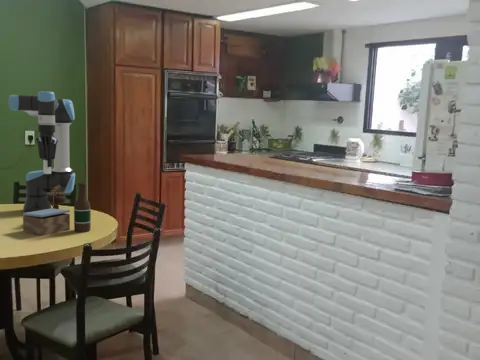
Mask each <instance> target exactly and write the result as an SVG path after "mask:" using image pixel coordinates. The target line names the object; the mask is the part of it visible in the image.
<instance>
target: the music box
mask: <svg viewBox="0 0 480 360" xmlns="http://www.w3.org/2000/svg"><path fill="white" fill-rule="evenodd" d="M60 188H61V186H60V185H56V187H53V188H52V190H51V191H52V192H55V193H48V196H47V200H48V201H49V202H50V204H51V208H52V209H60V206H59V204H64V203H65V202H66V201H67V197H66V195H64V194H62V193H60V192H58V191H60ZM56 192H58V193H56Z"/></svg>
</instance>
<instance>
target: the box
mask: <svg viewBox="0 0 480 360" xmlns="http://www.w3.org/2000/svg"><path fill="white" fill-rule="evenodd" d="M70 216H71V215H70V213H62V214H56V215H51V216H45V217H35V216H26V215H23V214H22V223H23V224H22V225H23V227H22V228H23V233H28V234H32V235H36V236H40V237H45V236H49V235H53V234H58V233H62V232H67V231H70V230H71V224H70V223H71V221H70V220H71V219H70Z"/></svg>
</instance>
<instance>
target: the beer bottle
mask: <svg viewBox="0 0 480 360" xmlns="http://www.w3.org/2000/svg"><path fill="white" fill-rule="evenodd" d="M77 186H78V195H77V200H76V201H75V203H74V209H73V213H74V214H73V224H74V225H73V228H74V229H73V231H74V232H76V233H87V232H90V231H91V228H92V227H91V223H92V221H91V220H92V219H91V215H92V214H91V209H92V208H91V203H90V201H89V200H88V198H87V188H86V186H87V183H86V182H83V181H81V182H78V184H77Z"/></svg>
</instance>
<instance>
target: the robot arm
mask: <svg viewBox="0 0 480 360" xmlns="http://www.w3.org/2000/svg"><path fill="white" fill-rule="evenodd" d="M8 108H9V110H11V111H22V112H25V113H26V114H27V115H28V116H31V117H34V118H37V120H38V121H37V122H38V125H37V130H38V133H39V137H37V138H36V139H35V140H36V142H37V147H38V148H37V149H38V156H39V158H40V159H41V160H42V169H40V170H33V171H29V172H27V173H26V174H25V192H26V195H25V196H26V198H25V200H24V204H23V208H22V209H23V213H27V212H33V211H39V210H45V209H51V208H52V206H51V204H52V203H51V202H49V201H48V200H47V196H48V195H49V194H54V193H55V192H52V191H51V190H52V188H53V187H56V185H60V186H61V188H60V191H58V192H60V194H62V193H63V194H68V193H70V194H71V193H72V192H73V191H74V188H75V181H76V173H75V172H73V168H71V167H70V166H71V163H70V159H71V158H70V156H71V155H70V126H71V125H72V124H73V121H75V109H74V103H73V101H72V100H71V99H69V98H68V99H67V98H66V99H64V98H56V95H55V92H54V91H48V90H47V91H43V90H41V91H38V92H37V95H28V94H10V95H9V96H8ZM52 164H53V165H52ZM58 192H56V194H58Z"/></svg>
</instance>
